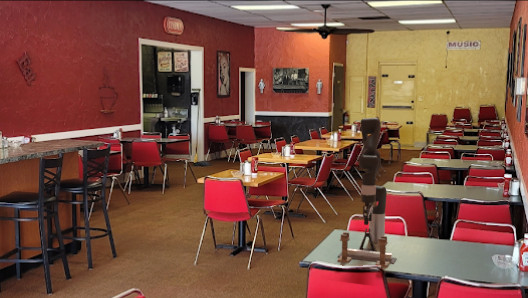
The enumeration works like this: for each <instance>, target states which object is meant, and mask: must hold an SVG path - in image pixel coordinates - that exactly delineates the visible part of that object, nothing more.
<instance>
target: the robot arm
mask: <svg viewBox="0 0 528 298" xmlns="http://www.w3.org/2000/svg"><path fill="white" fill-rule="evenodd" d="M381 127H382V126H381V120H380V119H379V117H365V118H361V120H360V132H361V138H362V139H361V140H362V145H363V149H362V150H363V151H362V153H361V155H360V157H359V159H358V166H359V167H360V169H363V170H365V173H363V174H362V175H361V189H360V191H361V194H360V200H361V202H362V203H364V205H363V206H362V214H363V215H362V218H363V225H365V226H368V229H370V230H371V232H370V234H371V237H372V240H373V242H374V244H375V243H376V244H378V243H379V238H381V236H386V235H385V232H386V231H385V229H386V228H385V227H386V225H385V224H386V208H387V197H388V196H387V195H388V194H387V193H388V192H387V191H388V190H387V188H386V186H382V185H381V186H380V185H376V176H377V174H378V172H379V171H380V169H381V166H382V162H381V160H382V159H381V153H380V152H379V150H378V149H377V148H378V147H377V146H378V141H379V139H380V134H381V131H382V130H381V129H382V128H381ZM369 135H370V136H369ZM375 202H378V203H377V205H374V203H375Z"/></svg>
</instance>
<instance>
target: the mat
mask: <svg viewBox="0 0 528 298" xmlns="http://www.w3.org/2000/svg"><path fill="white" fill-rule="evenodd" d="M340 256H342V251H341V252H340V253H339V254H338V255H337V258H339V257H340ZM347 257H351V258H352V259H351V260H358V261H359V260H360V261H367V262H375V263H377V261H380V259H373V258H365V257H356V256H347ZM396 261H397V257H393V256H392V260H385V262H389V264H393V265H394V264H395V263H396Z"/></svg>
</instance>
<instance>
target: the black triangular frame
mask: <svg viewBox="0 0 528 298" xmlns="http://www.w3.org/2000/svg"><path fill="white" fill-rule="evenodd" d="M367 231H368V232H367ZM370 232H371V230H370V229H369V228H365V230H364V236H363V239H362V240H361V243H360V245H359V249H358V250H366V251H375V252H376V246H375V243H374V242H373V240H372V237H371V234H370ZM367 238H368V241H369V244H370V247H364V245H365V242H366V240H367Z"/></svg>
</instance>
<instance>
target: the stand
mask: <svg viewBox="0 0 528 298" xmlns="http://www.w3.org/2000/svg"><path fill="white" fill-rule="evenodd" d="M350 240H351V238H350V232H347V231H346V232H345V231H343V233H342V234H340V239H339V241H340V242H341V252H342V256H340V257H337V263H347V264H349V263H350V262H351V261H352V260H353V259H352V258H351V257H347V251H348V249H349V248H348V247H349V246H348V243H349V242H348V241H350ZM387 244H389V242H388V236H386V235H384V236H381V238H379V243H377V246H379V252H380V261H377V262H375V265H381V266H382V267H381V268H385V269H386V268H387V269H388V267H389V265H390V263H389V262H385V253H387V252H386V250H387V249H386V247H387Z"/></svg>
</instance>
